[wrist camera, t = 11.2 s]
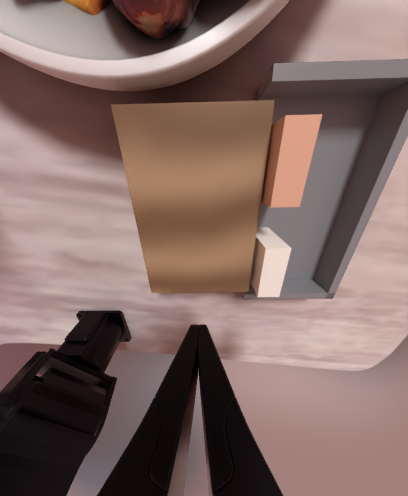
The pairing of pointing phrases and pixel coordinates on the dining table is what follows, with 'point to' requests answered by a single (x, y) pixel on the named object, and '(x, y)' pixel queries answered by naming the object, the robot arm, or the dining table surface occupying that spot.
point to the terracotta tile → (289, 159)
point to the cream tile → (269, 263)
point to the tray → (335, 163)
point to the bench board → (196, 189)
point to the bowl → (129, 38)
